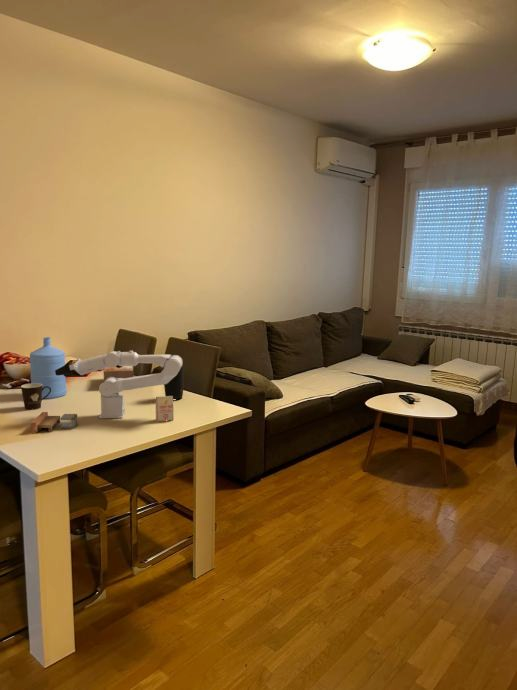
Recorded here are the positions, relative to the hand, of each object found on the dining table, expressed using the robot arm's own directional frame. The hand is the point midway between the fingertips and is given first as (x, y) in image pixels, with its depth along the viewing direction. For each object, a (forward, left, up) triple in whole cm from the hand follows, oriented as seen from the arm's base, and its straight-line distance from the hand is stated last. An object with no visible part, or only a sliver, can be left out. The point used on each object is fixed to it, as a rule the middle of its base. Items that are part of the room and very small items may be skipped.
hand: (59, 373), depth 206 cm
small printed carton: (-43, +9, -18) cm, 47 cm away
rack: (+1, +16, -18) cm, 24 cm away
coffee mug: (+14, -12, -18) cm, 26 cm away
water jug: (+15, -34, -18) cm, 42 cm away
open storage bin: (-7, +16, -18) cm, 25 cm away
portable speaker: (-45, -25, -18) cm, 55 cm away
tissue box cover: (-15, -57, -18) cm, 62 cm away
